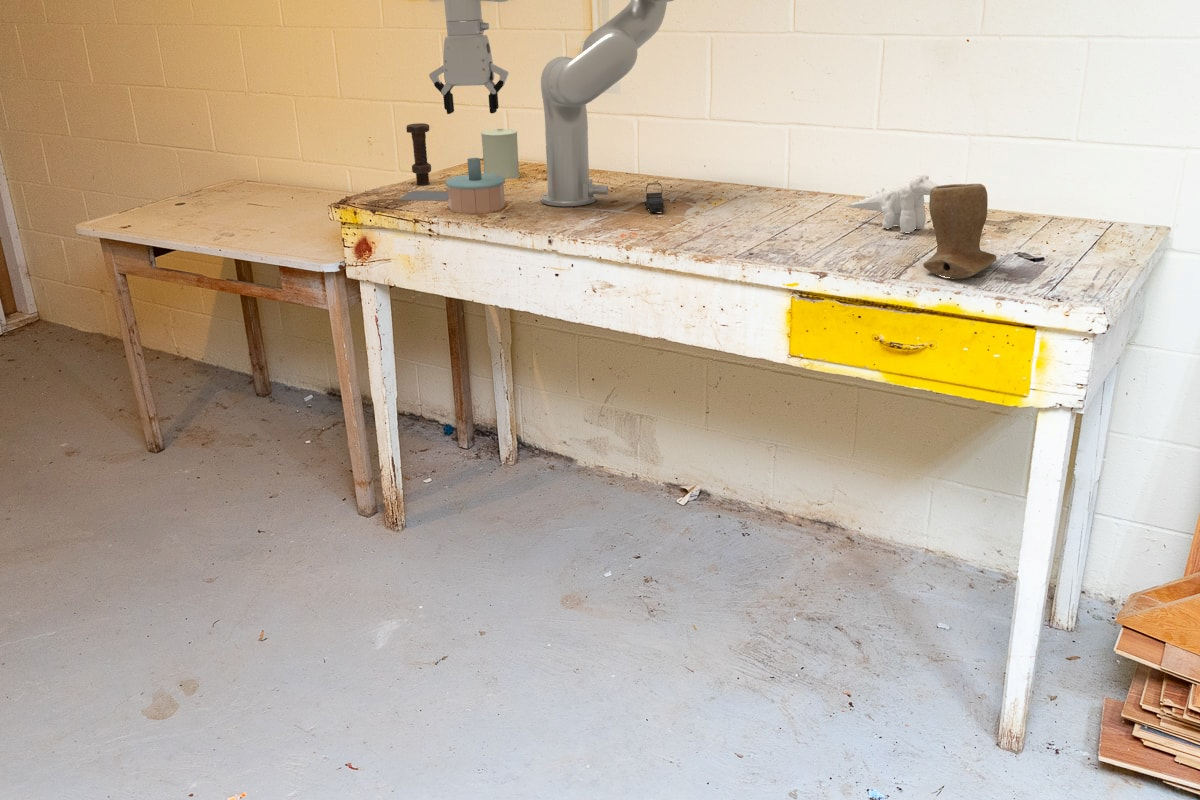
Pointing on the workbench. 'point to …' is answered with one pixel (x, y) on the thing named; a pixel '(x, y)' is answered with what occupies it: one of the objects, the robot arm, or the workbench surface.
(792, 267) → the workbench surface
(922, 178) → the white dinosaur figurine
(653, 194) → the reflex sight
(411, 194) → the mat
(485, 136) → the can
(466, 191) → the bowl
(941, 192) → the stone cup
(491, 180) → the lid
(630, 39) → the robot arm
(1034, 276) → the workbench surface
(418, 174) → the bolt
